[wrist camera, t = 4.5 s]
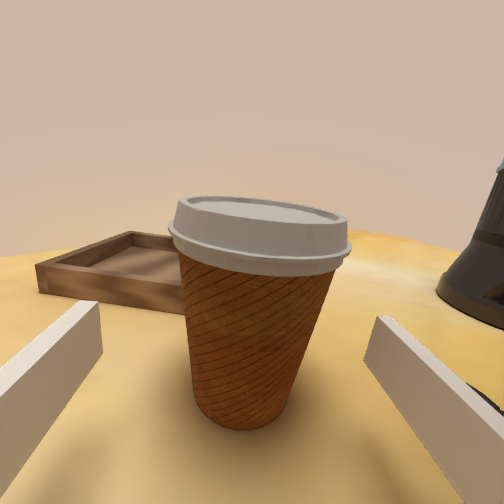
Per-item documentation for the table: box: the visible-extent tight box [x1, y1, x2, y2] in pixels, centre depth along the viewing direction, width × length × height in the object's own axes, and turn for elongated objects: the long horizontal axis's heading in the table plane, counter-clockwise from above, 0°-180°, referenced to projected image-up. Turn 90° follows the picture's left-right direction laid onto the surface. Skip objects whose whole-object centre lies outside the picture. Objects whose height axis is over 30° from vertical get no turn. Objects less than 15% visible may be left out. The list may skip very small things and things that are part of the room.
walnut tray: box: [35, 231, 185, 315], centre depth 31 cm, size 16×16×3 cm
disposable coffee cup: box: [168, 195, 352, 430], centre depth 15 cm, size 10×10×12 cm
